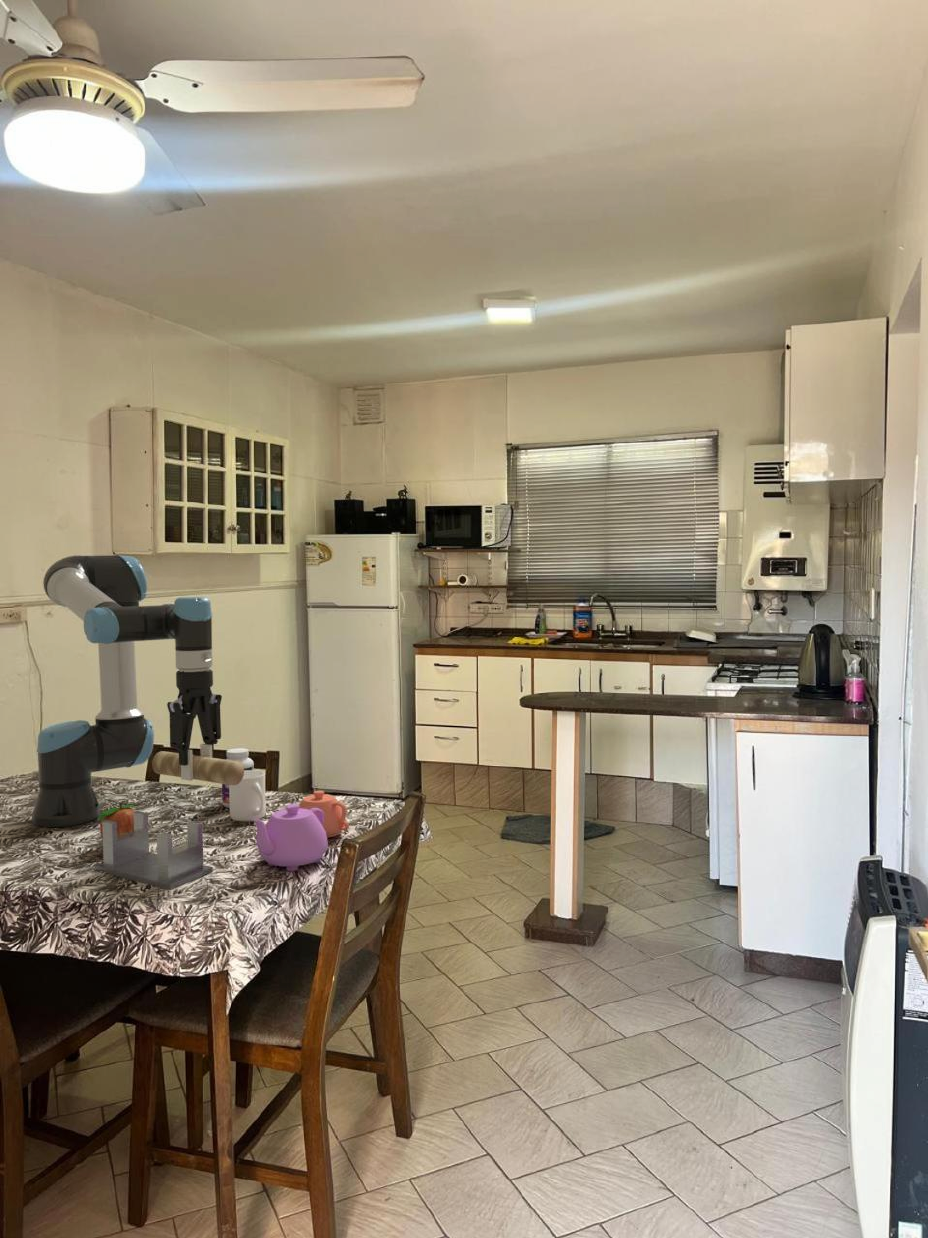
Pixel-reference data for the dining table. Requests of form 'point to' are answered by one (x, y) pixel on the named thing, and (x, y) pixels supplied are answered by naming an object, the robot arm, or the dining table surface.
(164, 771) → the baguette
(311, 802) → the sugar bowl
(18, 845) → the dining table surface
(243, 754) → the pill bottle
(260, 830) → the teapot
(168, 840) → the bracket stand
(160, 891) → the dining table surface
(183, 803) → the dining table surface
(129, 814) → the fruit
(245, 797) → the mug
